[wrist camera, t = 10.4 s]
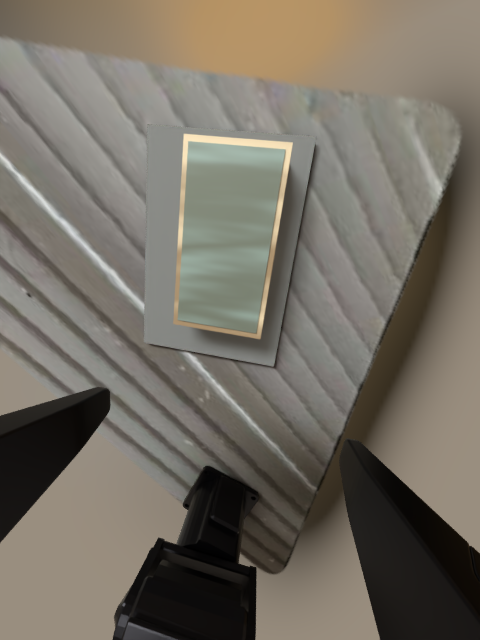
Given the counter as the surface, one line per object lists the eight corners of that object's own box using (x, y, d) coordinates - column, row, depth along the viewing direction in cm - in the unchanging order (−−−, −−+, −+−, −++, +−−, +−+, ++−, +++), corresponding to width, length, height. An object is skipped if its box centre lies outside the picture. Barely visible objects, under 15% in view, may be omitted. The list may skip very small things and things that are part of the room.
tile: (260, 339, 16) (293, 141, 13) (172, 324, 17) (183, 132, 14) (262, 327, 19) (289, 163, 16) (187, 314, 20) (199, 155, 17)
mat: (273, 364, 20) (273, 366, 20) (146, 341, 22) (144, 342, 21) (315, 139, 16) (316, 136, 15) (150, 127, 17) (147, 124, 17)
